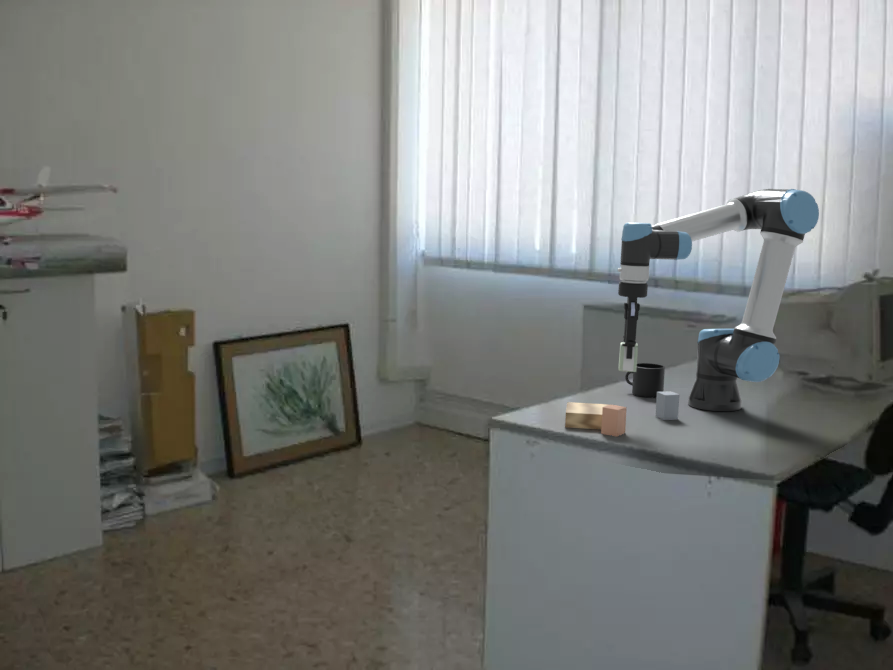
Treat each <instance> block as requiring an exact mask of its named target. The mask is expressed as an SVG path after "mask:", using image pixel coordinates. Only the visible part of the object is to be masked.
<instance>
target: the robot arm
mask: <svg viewBox="0 0 893 670" xmlns="http://www.w3.org/2000/svg"><path fill="white" fill-rule="evenodd" d="M818 205H819V204H818V203H817V202H816V198H814V196H813V195H812V194H811V193H809V192H807V191H805V190H800V189H794V188H791V189H785V188H782V189H779V188H778V189H777V188H764V189H760V190H757V191H753V192H749V193H746V194H743V195H740V196H737V197H734V198H731V199H729V200H728V201H727V202H726V204H722V205H719V206H715V207H712V208H708V209H706V210H701V211H698V212H695V213H690V214H687V215H683V216H680V217H677V218H673V219H669V220H667V221H663V222H660V223H656V224H651V223H648V222H635V221H634V222H633V221H632V222H631V221H630V222H629V221H628V222H625V223H624V225H623V226H622V234H621V244H620V245H621V249H620V262H619V263H620V267H618V268H617V272H618V273H619V280H620V281H619V282H618V290H617V291H618V293H617V294H618V296H619V297H624V298H626V299H627V301H626V302H624V303H623V309H624V313H623V315H624V317H623V318H624V326H623V327H624V330H623V337H622V338H623V342H624V343H625V344H622V346H624V358H623V371H622V372H627V371H633V367H634V353H635V345H636V343H637V339H636V338H637V325H638V320H639V312H640V309H641V308H640V307H641V304H640V303H639V302H638V298H639V299H640V298H646V297H647V296H648V290H649V289H648V286H649V284H648V281H649V277H650V261H651V260H673V261H677V260H686V259H687V258H688V257H689V256H690V255H691V252H692V249H693V242H695V241H700V240H702V239H706V238H709V237H713V236H716V235H720V234H723V233H727V232H731V231H734V232H737V233H739V232H743V231H746V230H760V236H761V237H762V238H763V242H762V246H761V250H760V253H759V256H758V261H757V265H756V268H755V272H754V276H753V280H752V284H751V286H750V287H751V288H750V290H749V294H748V299H747V300H746V301H747V302H746V305H745V310H744V312H743V316H742V320H741V323H740V324H739V325H736V326H734V328H704V329H701V330H700V331H699V333H698V339H697V350H696V351H697V356H696V369H695V370H696V371H695V372H696V373H695V380H694V382H693V385H692V387H691V389H690V393H689V394H688V399H687V400H688V402H687V405H688V406H689V407H692V408H694V409H699V410H702V411H703V410H704V411H709V412H711V411H712V412H734V411H739V410H741V409H742V397H741V393H740V390H739V386H738V379H740V380H742V381H746V382H752V383H759V382H760V383H761V382H764V381H766V380H767V379H769V378H771V377H772V375H774V374H775V372H777V371H776V370H777V369H778V367H779V363H780V358H781V357H780V353H779V349H778V347H776V341H777V336H776V335H775V333H774V326H775V324H776V321H777V320H776V319H777V317H778V316H777V315H778V313H779V308H780V305H781V301H782V297H783V294H784V290H785V286H786V282H787V280H788V279H787V278H788V276H789V272H790V267H791V265H792V261H793V257H794V254H795V249H796V248H797V247H798V246H799V245H801V244H802V243H804V238H805V236H806V234H808V233H810V232H811V231H812V230H813V229H815V228H816V226H817V224H818V222H819V219H820V218H819V217H820V210H819V209H820V208H819V206H818Z"/></svg>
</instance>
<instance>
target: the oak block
mask: <svg viewBox="0 0 893 670" xmlns="http://www.w3.org/2000/svg"><path fill="white" fill-rule="evenodd" d="M608 405H610V404H606V403H590V402H588V403H587V402H574V401H573V402H571V401H570V402H569V401H568V402H567V403H566V408H565V420H564V421H565V423H564V427H565V428H569V429H571V428H572V429H586V430H587V429H588V430H590V429H591V430H601V428H602V409H603V407H605V406H608Z"/></svg>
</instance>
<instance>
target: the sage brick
mask: <svg viewBox="0 0 893 670" xmlns="http://www.w3.org/2000/svg"><path fill="white" fill-rule="evenodd" d="M619 344H620V345H619V355H618V371H619V372H624V371H623V358H624V346H622V344H625V342H624V341H623V342H620V343H619ZM638 353H639V345H638V343H637V342H636V345H635V353H634V367H633V371H626V373H627V372H636V368H637V364H638V355H639V354H638Z"/></svg>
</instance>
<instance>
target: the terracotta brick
mask: <svg viewBox="0 0 893 670" xmlns="http://www.w3.org/2000/svg"><path fill="white" fill-rule="evenodd" d="M626 424H627V406H622V405H615V404H609V405H608V406H605V407H603V409H602V428H601V429H600V433H601V435H605V436H606V435H607V436H611V435H612V437H620V436H622V434H623V435H625V434H626ZM624 433H625V434H624ZM619 435H620V436H619Z"/></svg>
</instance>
